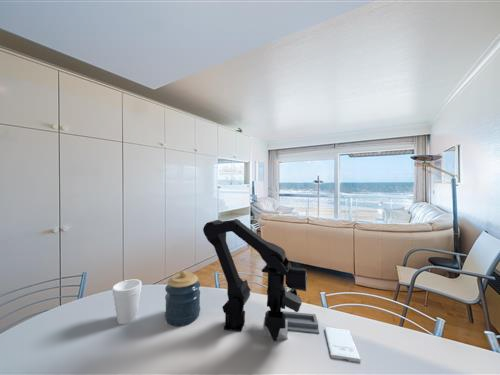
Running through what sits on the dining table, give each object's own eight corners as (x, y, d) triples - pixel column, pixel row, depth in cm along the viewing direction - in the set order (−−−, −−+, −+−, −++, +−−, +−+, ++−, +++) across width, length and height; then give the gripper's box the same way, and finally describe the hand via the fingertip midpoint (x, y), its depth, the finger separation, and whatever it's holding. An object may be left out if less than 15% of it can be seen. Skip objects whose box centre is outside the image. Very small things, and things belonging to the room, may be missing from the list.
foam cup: (106, 323, 77) (106, 287, 77) (129, 309, 85) (129, 277, 85) (124, 329, 73) (124, 293, 73) (146, 314, 82) (146, 281, 82)
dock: (278, 329, 74) (278, 324, 74) (278, 312, 84) (278, 308, 84) (319, 333, 72) (319, 328, 72) (315, 315, 82) (315, 311, 82)
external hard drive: (349, 334, 73) (360, 364, 60) (324, 331, 74) (330, 359, 62) (349, 330, 73) (360, 358, 60) (324, 326, 74) (331, 353, 62)
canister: (157, 322, 77) (157, 274, 77) (180, 303, 90) (180, 262, 89) (186, 330, 73) (186, 280, 73) (206, 310, 85) (206, 267, 85)
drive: (263, 336, 70) (263, 322, 70) (264, 331, 73) (264, 317, 73) (287, 339, 69) (287, 324, 69) (287, 334, 72) (287, 319, 72)
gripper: (302, 302, 61) (302, 355, 61) (297, 275, 79) (297, 316, 79) (264, 299, 62) (264, 351, 62) (268, 273, 81) (267, 313, 81)
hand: (275, 330), depth 71 cm, fingers open, 9 cm apart
